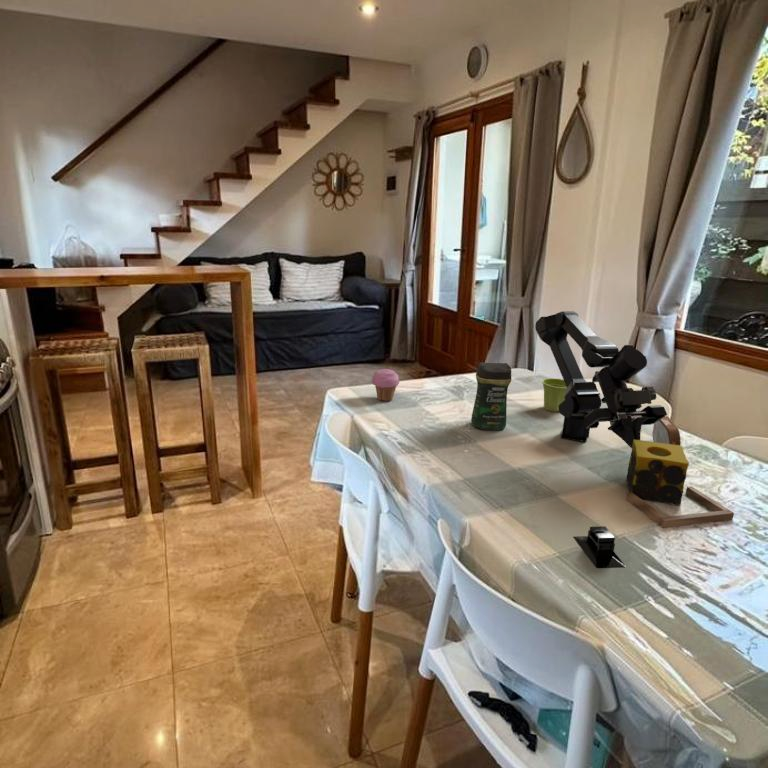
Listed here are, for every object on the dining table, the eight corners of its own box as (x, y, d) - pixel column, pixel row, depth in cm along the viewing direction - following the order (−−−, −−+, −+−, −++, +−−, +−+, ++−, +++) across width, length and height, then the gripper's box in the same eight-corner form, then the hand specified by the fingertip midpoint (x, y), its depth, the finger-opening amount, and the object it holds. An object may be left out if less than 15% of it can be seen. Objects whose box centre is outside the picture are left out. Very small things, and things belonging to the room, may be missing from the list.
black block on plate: (565, 534, 101) (568, 513, 100) (602, 534, 102) (605, 512, 100) (595, 577, 89) (599, 553, 88) (637, 575, 90) (641, 552, 88)
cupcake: (398, 404, 166) (399, 373, 163) (370, 403, 166) (371, 372, 163) (398, 395, 175) (399, 366, 172) (371, 394, 175) (372, 365, 172)
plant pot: (573, 407, 169) (576, 381, 166) (565, 416, 161) (569, 389, 158) (543, 401, 173) (547, 376, 171) (534, 409, 166) (538, 383, 163)
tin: (678, 464, 131) (685, 433, 129) (664, 463, 132) (671, 431, 129) (660, 440, 145) (666, 412, 143) (648, 439, 146) (654, 410, 143)
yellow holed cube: (673, 485, 120) (682, 445, 117) (681, 507, 111) (691, 463, 108) (625, 477, 124) (632, 437, 121) (629, 497, 114) (637, 455, 111)
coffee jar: (474, 431, 147) (480, 366, 142) (468, 420, 155) (474, 359, 149) (509, 431, 148) (516, 367, 142) (501, 421, 156) (507, 359, 150)
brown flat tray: (625, 498, 114) (626, 492, 113) (690, 492, 117) (691, 486, 117) (662, 527, 103) (664, 520, 103) (732, 519, 107) (734, 512, 107)
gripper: (598, 375, 119) (622, 439, 112) (669, 372, 124) (696, 434, 117) (574, 397, 129) (594, 458, 122) (640, 394, 133) (663, 452, 126)
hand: (637, 450), depth 121 cm, fingers closed
